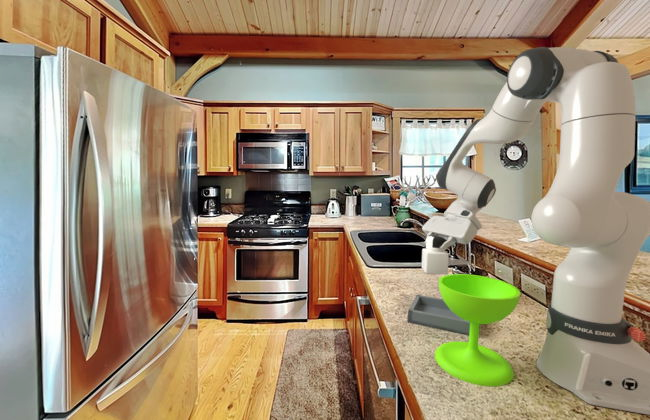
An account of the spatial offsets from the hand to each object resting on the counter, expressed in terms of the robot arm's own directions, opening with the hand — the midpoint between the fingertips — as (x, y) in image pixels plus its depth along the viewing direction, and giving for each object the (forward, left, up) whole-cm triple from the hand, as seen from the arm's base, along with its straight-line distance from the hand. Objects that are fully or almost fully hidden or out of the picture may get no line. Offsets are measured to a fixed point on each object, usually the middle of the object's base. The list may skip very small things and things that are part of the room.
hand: (433, 246), depth 104 cm
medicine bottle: (-1, 0, -9) cm, 9 cm away
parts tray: (-5, +14, -18) cm, 24 cm away
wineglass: (-13, +34, -19) cm, 41 cm away
